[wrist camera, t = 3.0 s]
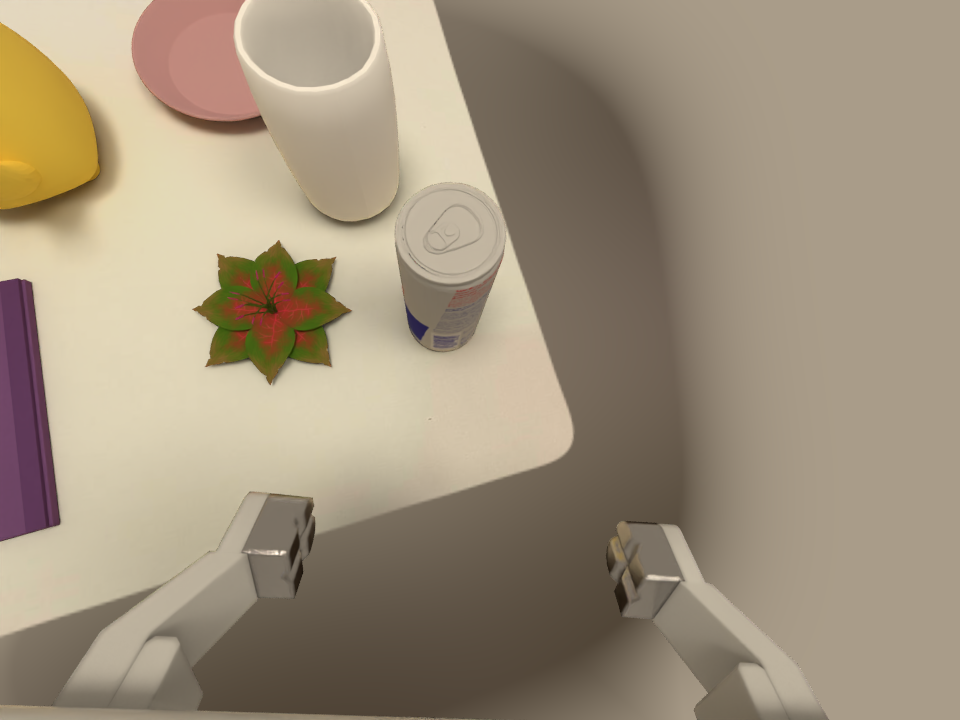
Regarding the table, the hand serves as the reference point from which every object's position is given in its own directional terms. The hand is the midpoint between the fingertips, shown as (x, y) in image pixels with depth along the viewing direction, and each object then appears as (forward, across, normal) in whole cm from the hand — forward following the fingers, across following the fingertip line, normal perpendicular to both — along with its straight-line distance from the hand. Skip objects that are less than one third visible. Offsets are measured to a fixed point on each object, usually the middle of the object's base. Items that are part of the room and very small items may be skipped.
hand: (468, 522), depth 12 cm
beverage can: (+25, +1, +7) cm, 26 cm away
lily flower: (+24, +14, +8) cm, 29 cm away
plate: (+39, +22, -7) cm, 46 cm away
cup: (+32, +10, 0) cm, 34 cm away
